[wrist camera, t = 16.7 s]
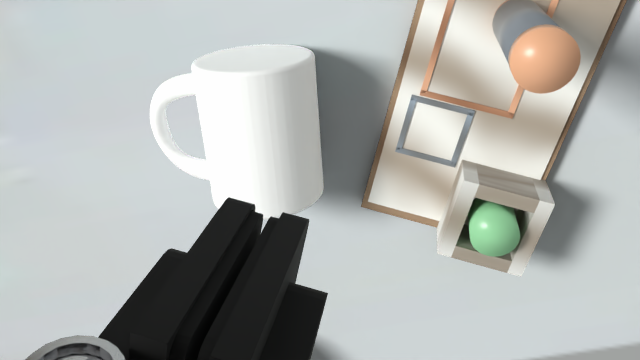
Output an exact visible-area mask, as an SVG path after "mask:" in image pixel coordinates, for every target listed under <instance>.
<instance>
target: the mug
mask: <svg viewBox="0 0 640 360" xmlns="http://www.w3.org/2000/svg"><path fill="white" fill-rule="evenodd" d="M191 69H192V73H189V74H183V75H179V76H176V77H173V78H171V79H169V80H167V81H165V82H164V83H163V84H161V85H160V86H159V87H158V89H157V90H156V92H155V93H154V95H153V98H152V101H151V106H150V122H151V127H152V130H153V133H154V136H155V138H156V140H157V142H158V144H159V146H160V147H161V149H162V150H163V152H164V153H165V154H166V156H167V157H168V158H169V159H170V160H171V161H172V162H173V163H174V164H175V165H176V166H177V167H178V168H180V169H181V170H183V171H184V172H186V173H188V174H190V175H192V176H194V177H197V178H200V179H204V180H210V183H211V189H212V195H213V201H214V203H215V205H216V207H217V208H218V209H219V208H220V207H221V206H222V204H223V203H224V201H225V200H226V199H227V198H228V197H230V198H234V199H237V200H241V201H244V202H248V203H252V204H255V212H257V213H261V214H263V220H264V219H269V218H270V217H271V216H272V217H275V218H280V216H281V214H282V213H283V212H284V213H288V214H291V215H292V214H295V213H298V212H300V211H302V210H304V209H306V208H308V207H310V206H311V205H313V204H314V203H315V202H316V201H317V200H318V199H319V198H320V197H321V195H322V193H323V189H324V185H323V170H322V155H321V141H320V126H319V111H318V97H317V82H316V67H315V55H314V53H313V52H312V51H311V50H309V49H307V48H305V47H301V46H296V45H286V44H261V45H248V46H240V47H233V48H228V49H223V50H219V51H215V52H211V53H208V54H206V55H203V56H201V57H199V58H197V59H196V60H195V61H194V62H193V63H192V66H191ZM194 95H196V99H197V105H198V111H199V117H200V123H201V129H202V135H203V141H204V147H205V153H206V159H207V160H206V159H200V158H196V157H193V156H190V155H188V154H186V153H185V152H183V151H182V150H181V149H180V148H179V147H178V146H177V144H176V143H175V141H174V139H173V137H172V135H171V132H170V129H169V126H168V122H167V117H166V109H167V106H168V105H169V104H170V103H172V102H173V101H175V100H177V99H180V98H183V97H188V96H194Z"/></svg>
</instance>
